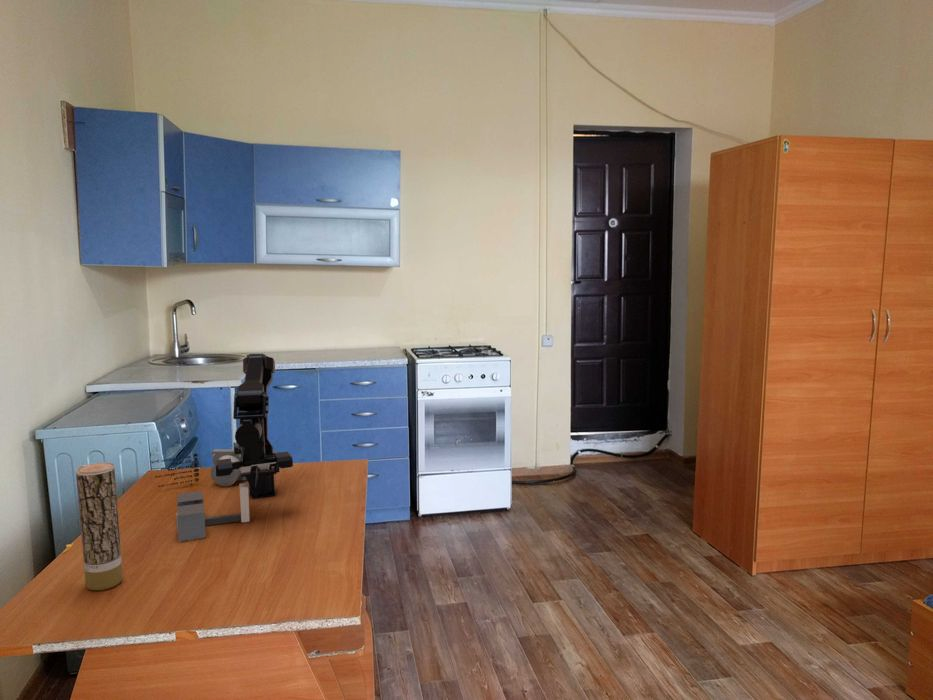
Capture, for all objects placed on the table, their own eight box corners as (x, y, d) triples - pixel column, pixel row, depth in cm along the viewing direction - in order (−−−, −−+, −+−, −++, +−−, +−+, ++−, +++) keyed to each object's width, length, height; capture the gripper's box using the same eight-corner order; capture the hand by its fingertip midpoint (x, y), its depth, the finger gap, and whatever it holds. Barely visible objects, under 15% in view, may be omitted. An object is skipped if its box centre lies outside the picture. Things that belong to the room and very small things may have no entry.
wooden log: (107, 593, 134) (97, 474, 130) (78, 590, 135) (67, 471, 132) (130, 577, 140) (121, 463, 137) (102, 574, 142) (93, 461, 138)
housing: (203, 514, 175) (202, 490, 174) (205, 538, 160) (204, 512, 159) (179, 518, 172) (177, 494, 171) (178, 542, 158) (177, 516, 157)
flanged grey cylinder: (244, 474, 207) (243, 443, 206) (255, 484, 198) (253, 452, 196) (151, 490, 193) (149, 457, 191) (158, 502, 183) (155, 468, 182)
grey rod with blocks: (249, 516, 173) (247, 482, 172) (249, 521, 169) (248, 487, 169) (178, 525, 167) (176, 490, 167) (177, 530, 164) (175, 495, 163)
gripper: (285, 425, 180) (287, 481, 182) (211, 433, 173) (215, 491, 175) (291, 435, 170) (294, 494, 172) (214, 444, 162) (218, 505, 165)
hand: (255, 495), depth 171 cm, fingers closed
